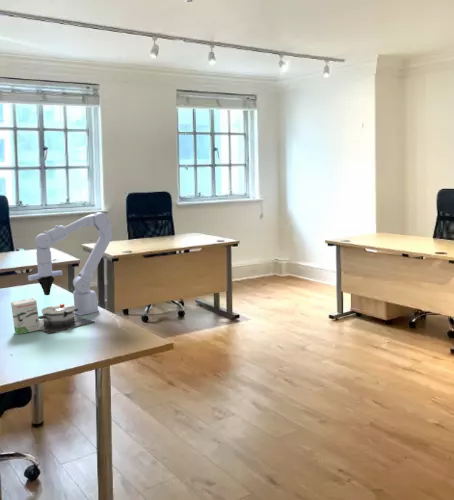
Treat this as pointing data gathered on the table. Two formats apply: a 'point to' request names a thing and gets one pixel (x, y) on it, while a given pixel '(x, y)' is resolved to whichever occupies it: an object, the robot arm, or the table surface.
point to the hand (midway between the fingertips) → (47, 294)
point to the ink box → (25, 316)
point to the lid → (58, 310)
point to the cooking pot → (61, 322)
